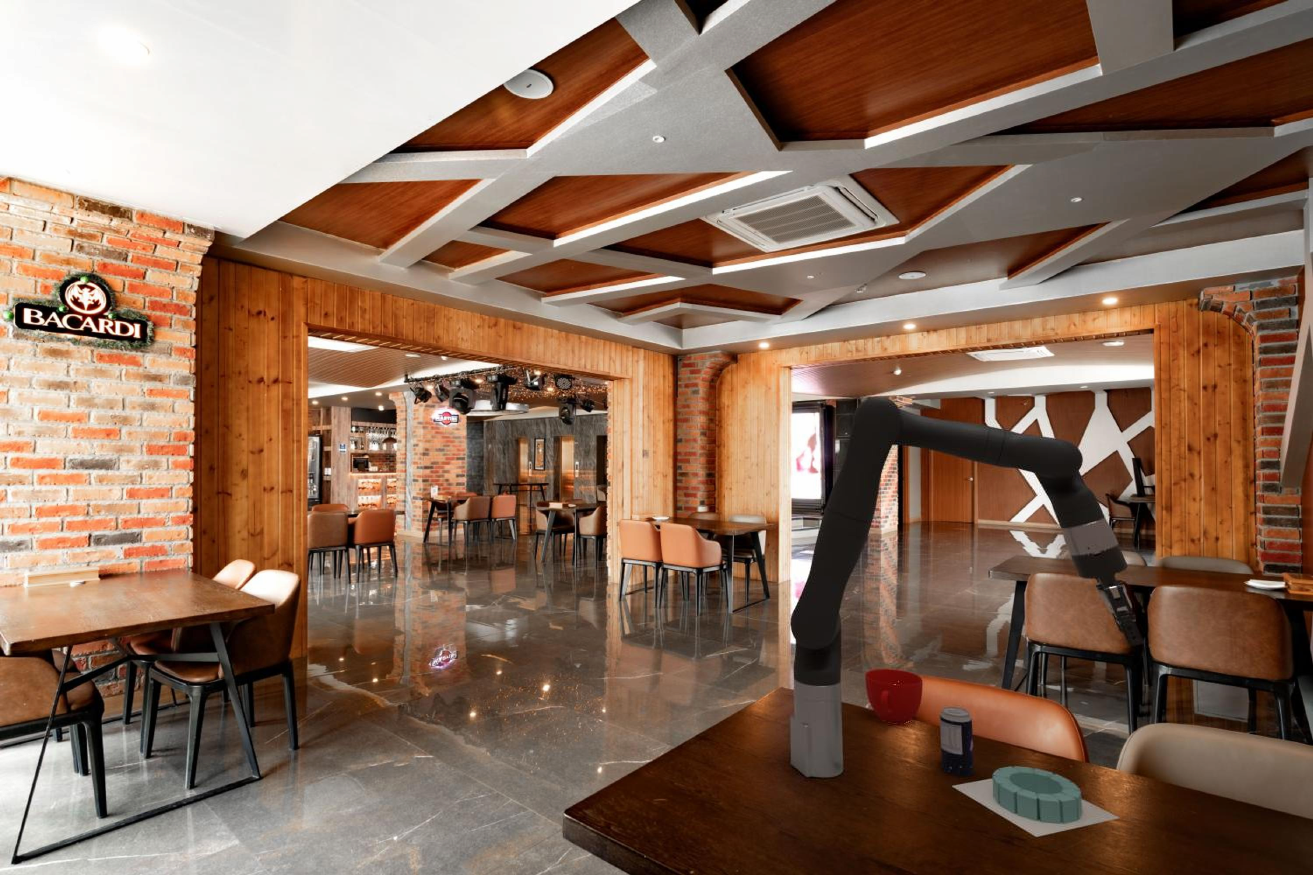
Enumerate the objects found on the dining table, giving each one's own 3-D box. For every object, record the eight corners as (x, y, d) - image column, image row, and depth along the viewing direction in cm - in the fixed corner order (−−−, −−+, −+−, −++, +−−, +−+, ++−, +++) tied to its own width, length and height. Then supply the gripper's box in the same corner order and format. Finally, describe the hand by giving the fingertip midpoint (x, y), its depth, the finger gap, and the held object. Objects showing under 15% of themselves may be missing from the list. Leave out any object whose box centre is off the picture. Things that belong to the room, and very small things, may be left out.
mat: (1036, 841, 102) (1036, 836, 102) (951, 790, 119) (951, 785, 119) (1120, 822, 107) (1119, 817, 108) (1027, 776, 125) (1027, 771, 125)
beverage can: (977, 782, 122) (975, 716, 123) (945, 779, 123) (943, 714, 124) (969, 769, 128) (967, 706, 129) (939, 766, 129) (936, 704, 130)
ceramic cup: (855, 728, 149) (854, 683, 150) (873, 706, 164) (872, 666, 164) (915, 739, 143) (913, 693, 143) (928, 715, 157) (926, 673, 158)
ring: (1040, 828, 104) (1039, 806, 104) (977, 792, 117) (976, 772, 117) (1099, 815, 108) (1098, 794, 108) (1033, 781, 121) (1032, 762, 121)
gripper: (1065, 547, 123) (1101, 631, 120) (1073, 558, 110) (1113, 653, 107) (1110, 536, 119) (1148, 623, 117) (1124, 546, 107) (1166, 644, 104)
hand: (1131, 637), depth 112 cm, fingers open, 8 cm apart
